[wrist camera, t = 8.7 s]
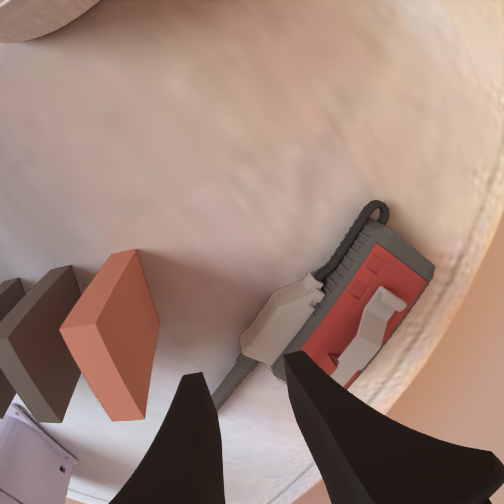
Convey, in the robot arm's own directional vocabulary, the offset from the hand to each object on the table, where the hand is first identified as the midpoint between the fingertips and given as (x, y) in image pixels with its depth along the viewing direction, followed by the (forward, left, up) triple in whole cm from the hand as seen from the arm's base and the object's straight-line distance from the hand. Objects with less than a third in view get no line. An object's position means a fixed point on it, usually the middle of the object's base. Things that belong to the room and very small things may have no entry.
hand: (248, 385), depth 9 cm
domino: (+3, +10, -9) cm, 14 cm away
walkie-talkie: (-7, -3, -10) cm, 13 cm away
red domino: (+2, +5, -9) cm, 11 cm away
